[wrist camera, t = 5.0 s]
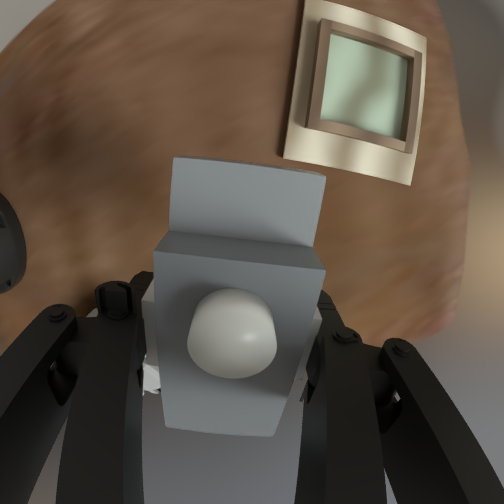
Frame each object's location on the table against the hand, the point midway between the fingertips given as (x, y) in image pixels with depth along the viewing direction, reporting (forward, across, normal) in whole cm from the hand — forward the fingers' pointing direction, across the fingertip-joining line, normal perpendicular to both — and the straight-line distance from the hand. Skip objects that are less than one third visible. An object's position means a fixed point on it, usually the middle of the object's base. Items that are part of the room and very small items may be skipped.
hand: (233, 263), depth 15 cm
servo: (0, 0, 0) cm, 0 cm away
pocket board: (+15, +11, +14) cm, 23 cm away
